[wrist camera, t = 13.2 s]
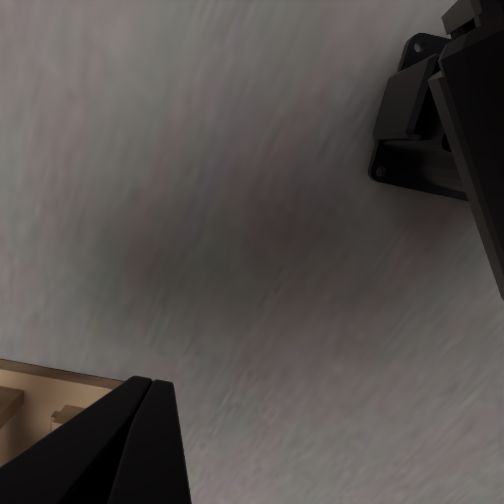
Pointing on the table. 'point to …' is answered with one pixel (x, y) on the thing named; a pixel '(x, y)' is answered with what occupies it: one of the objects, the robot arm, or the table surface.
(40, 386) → the cradle
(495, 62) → the robot arm
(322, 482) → the table surface
